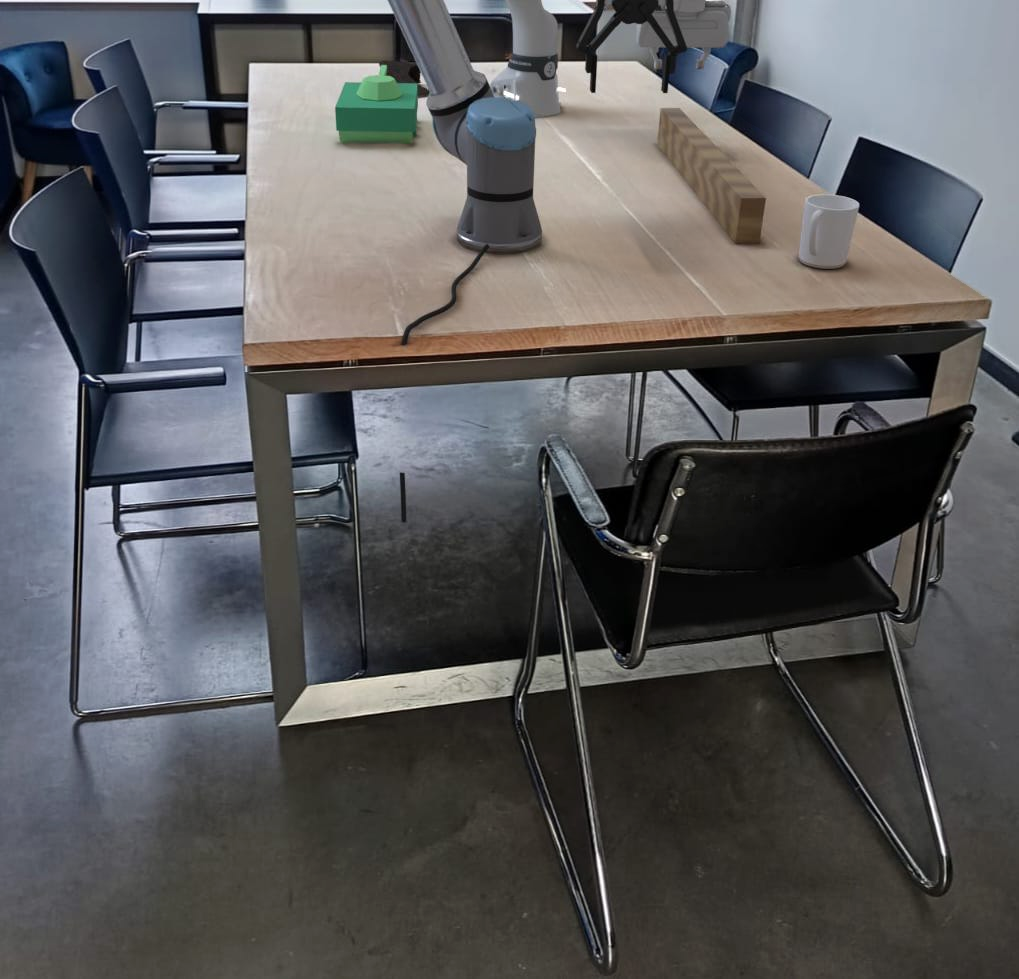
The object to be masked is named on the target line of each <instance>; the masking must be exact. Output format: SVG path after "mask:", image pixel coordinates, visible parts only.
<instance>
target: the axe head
mask: <svg viewBox="0 0 1019 979" xmlns="http://www.w3.org/2000/svg"><path fill="white" fill-rule="evenodd" d="M381 65H387V73H386V76H391V77H392V78H394V79H395V81H396V82H397V83H416V84H418V98H419V97H425V96H429V93H430V91H429V89H428V87H425V86H422V85H421V84H422V82H421V72H420V69H419V67H418V65H417V63H416V62H410V61H408V62H401V61H400V60H399V61H397V60H388V59H387V60H380V61H379V62H378V66H379V69H380V68H381Z"/></svg>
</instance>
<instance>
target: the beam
mask: <svg viewBox="0 0 1019 979" xmlns="http://www.w3.org/2000/svg"><path fill="white" fill-rule="evenodd" d="M658 120H659V121H658V130H657V131H658V133H657V143H656V144H657V146H658V147H659V148H660V150H661V152H663V154H664V155H665V156H666V158H667V159H668V160H669V161H670V162H671V164H672V165H673V166H674V167H675V169H676V170H677V172H678V173H679V174H680V176H681V177H682V178H683V179H684V180H685V181H686V183H687V184H688V186H689V187H690V188H691V190H692V191H693V192H694V193H695V194H696V196H697V197H698V198H699V199H700V201H701V202H702V203H703V205H704V206H705V207H706V208H707V209H708V211H709V212H710V214H711V215H712V216H713V217H714V218H715V220H716V221H717V223H719V225H720V226H721V227H722V229H723V230H724V231H725V233H726V234H727V235H728V236H729V238H730V239H731V240H732V241H733V243H734V244H760V243H761V236H762V229H763V222H764V216H765V208H766V201H767V197H766V196H765V195H764V194H763V193H762V192H761V191H760V190H759V189H758V188H757V187H756V186H755V185H754V183H752V182H751V181H750V179H749V178H748V177H746V176H745V175H744V174H743V172H742V171H741V170H740V169H739V168H738V167H737V166H736V165H735V164H734V163H733V162H732V161H731V160H730V159H729V158H728V157H727V156H726V155H725V154H724V152H722V150H721V149H720V148H719V147H718V146H717V145H716V144H715V143H714V142H713V141H712V140H711V139H710V138H709V137H708V136H707V135H706V134H705V133H704V132H703V131H702V129H700V128H699V126H698V125H697V124H695V122H694V121H693V120H692V119H691V118H690V117H689V116H688V115H687V114H686V113H685V112H684V111H683V109H682V108H680V107H660V109H659V119H658Z"/></svg>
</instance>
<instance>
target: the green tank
mask: <svg viewBox="0 0 1019 979" xmlns="http://www.w3.org/2000/svg"><path fill="white" fill-rule="evenodd" d="M386 73H387V65H381V68H380V67H379V72H378V74H376V75H375V74H374V75H368V76H366V77H363V78H362V80H361V82H358V81H355V82H354V81H353V82H352V81H345V82H344V84H343V86H342V88H341V92H340V93H339V96H338V99H337V101H336V104H335V107H334V112H335V128H336V129H335V130H336V131H337V132H338V137H339V142H340V143H341V144H413V142H414V139H413V138H414V137H417V129H418V108H419V97H418V84H416V83H397V82H396V81H395V79H394V78H392V77H391V76H386Z"/></svg>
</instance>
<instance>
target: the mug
mask: <svg viewBox="0 0 1019 979" xmlns="http://www.w3.org/2000/svg"><path fill="white" fill-rule="evenodd" d="M859 209H860V203H859V201H857V200H855V199H853V198H850V197H847V196H843V195H837V194H829V193H828V194H827V193H825V194H823V193H822V194H821V193H819V194H813V195H809V196H806V197H805V198H804V205H803V214H802V221H801V222H802V223H801V232H800V240H799V241H800V242H799V249H798V261H799V262H801V263H802V264H804V265H806V266H808V267H812V268H816V269H825V270H828V269H829V270H831V269H833V270H834V269H839V268H842V267H844V266H845V265H846V263H847V259H848V255H849V251H850V247H851V242H852V239H853V234H854V231H855V225H856V221H857V218H858V213H859Z"/></svg>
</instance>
